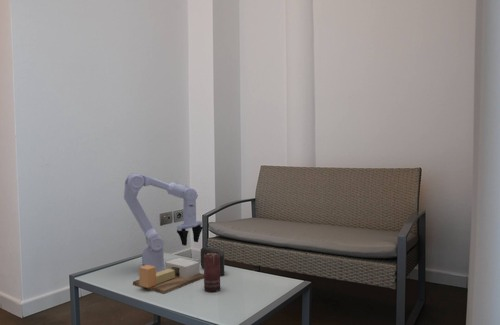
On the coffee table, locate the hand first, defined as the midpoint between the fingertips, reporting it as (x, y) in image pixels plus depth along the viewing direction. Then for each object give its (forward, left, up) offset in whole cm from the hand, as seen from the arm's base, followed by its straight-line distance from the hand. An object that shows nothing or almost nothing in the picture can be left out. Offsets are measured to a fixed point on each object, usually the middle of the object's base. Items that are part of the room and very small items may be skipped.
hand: (190, 243), depth 187 cm
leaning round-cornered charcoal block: (+15, -2, -10) cm, 18 cm away
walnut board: (+9, -21, -10) cm, 25 cm away
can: (+30, -19, -10) cm, 37 cm away
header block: (+9, -14, -9) cm, 19 cm away
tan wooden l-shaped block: (+9, -27, -8) cm, 30 cm away
